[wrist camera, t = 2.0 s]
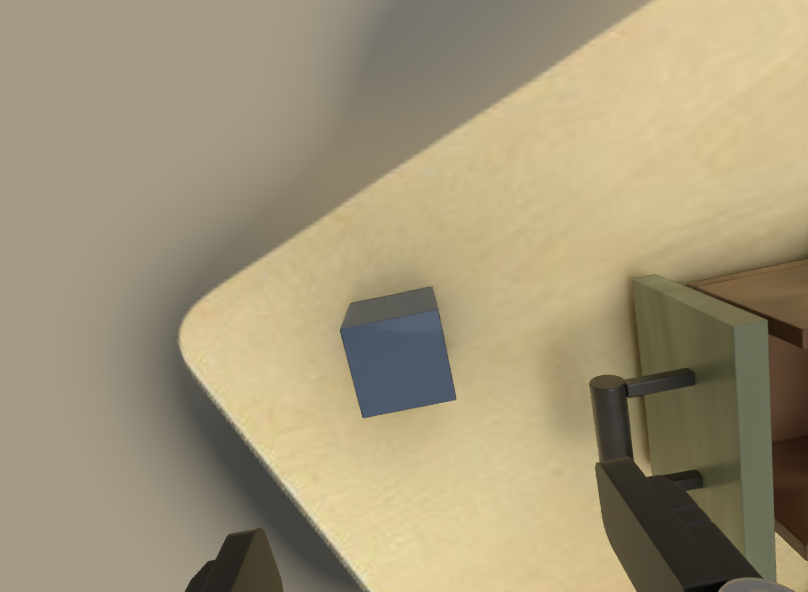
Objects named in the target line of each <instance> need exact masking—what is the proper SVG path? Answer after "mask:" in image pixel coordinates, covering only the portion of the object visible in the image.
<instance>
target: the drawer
mask: <svg viewBox="0 0 808 592" xmlns="http://www.w3.org/2000/svg"><path fill="white" fill-rule="evenodd" d="M632 281H633V291H634V301H635V311H636V321H637V331H638V340H639V350H640V360H641V370H642V376H641V377H636V378H631V379H626V380H623V379H622V378H621V377H618V376H615V375H601V376H597V377H595V378H593V379H591V381H590V383H589V386H590V393H591V401H592V408H593V416H594V424H595V431H596V439H597V447H598V454H599V462H603V461H608V460H613V459H618V458H623V457H630V458H631V459H632V460H633V461H634V458H633V449H632V440H631V431H630V422H629V413H628V404H627V397H628V398H632V397H637V396H642V395H644V400H645V409H646V419H647V429H648V439H649V449H650V459H651V468H652V475H653V476H656V475H662V476H664V477H665V478H667V479H669V480H671V481H672V482H674V483H676V484H678V485H679V486H681V487H683V488H684V490H685V491H686V492H687V493H688V494H689V495H690V496H691V497H692V499H693V500H694V501H695V502H696V503H697V504H698V507H699V508H701V509H702V510H703V511H704V512H705V513H706V514H707V515H708V517H709V518H710V520H711V522H714V523H715V524H716V526H717V527H718V528H719V529H720V530H721V531H722V532H723V533H724V535H725V536H726V537H727V538H728V539H729V540H730V541H731V542H732V544H733V545H734V546H735V547H736V548H737V549H738V550H739V551H740V553H741V554H742V555H743V556H744V557H745V558H746V559H747V560H748V562H749V563H750V564H751V565H752V566H753V567H754V568H755V569H756V571H757V572H758V573H759V574H760V575H761V576H762V577H763V578H764V579H766V580H770V581H773V582H776V558H775V531H776V532H777V533H778V534H779V535H780V536H781V537H782V538H783V539H784V540H785V541H786V542H787V543H788V544H789V545H790V546H791V547H792V548H793V549H794V550H795V551H796V552H797V553H798V554H799V555H800V556H801V557H803V558H804V559H805V560H806V561H808V259H804V260H800V261H795V262H790V263H785V264H780V265H775V266H770V267H765V268H760V269H755V270H750V271H745V272H741V273H736V274H731V275H726V276H721V277H716V278H711V279H706V280H701V281H696V282H691V283H688V284H687V287H686V286H683V285H681V284H678V283H676V282H673V281H671V280H669V279H666V278H664V277H661V276H659V275H656V274H654V275H649V276H644V277H639V278H634V279H632Z"/></svg>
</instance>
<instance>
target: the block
mask: <svg viewBox="0 0 808 592" xmlns="http://www.w3.org/2000/svg"><path fill="white" fill-rule="evenodd" d="M340 333H341V337H342V340H343V344H344V348H345V352H346V356H347V360H348V364H349V368H350V371H351V375H352V379H353V383H354V387H355V391H356V395H357V398H358V402H359V406H360V410H361V414H362V417H363V418H366V417H371V416H377V415H382V414H387V413H392V412H397V411H402V410H407V409H412V408H417V407H422V406H427V405H433V404H438V403H443V402H448V401H453V400H456V394H455V389H454V384H453V379H452V374H451V369H450V365H449V360H448V355H447V350H446V345H445V340H444V335H443V330H442V325H441V321H440V316H439V311H438V307H437V303H436V299H435V295H434V291H433V287H427V288H422V289H417V290H412V291H407V292H403V293H398V294H393V295H388V296H383V297H379V298H374V299H369V300H364V301H359V302H355V303H351V304H350V305H349V308H348V310H347V313H346V315H345V318H344V321H343V323H342V326H341V328H340Z"/></svg>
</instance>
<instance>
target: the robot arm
mask: <svg viewBox="0 0 808 592" xmlns="http://www.w3.org/2000/svg"><path fill="white" fill-rule="evenodd" d="M595 470H596V478H597V484H598V491H599V498H600V505H601V512H602V519H603V523H604V527H605V531H606V534H607V536H608V539H609V542H610V544H611V546H612V548H613V550H614V552H615V554H616V555H617V557H618V559H619V561H620V563H621V564H622V566H623V568H624V570H625V571H626V573H627V575H628V577H629V579H630V580H631V582H632V584H633V586H634V588H635V589H636V591H637V592H795V591H793V590H791V589H789V588H788V587H785V586H783V585H781V584H779V583H776V582H773V581H770V580H766V579H764V578H763V577H762V576H761V575H760V574H759V573H758V572H757V571H756V569H755V568H754V567H753V566H752V565H751V564H750V563H749V562H748V560H747V559H746V558H745V557H744V556H743V555H742V554H741V553H740V551H739V550H738V549H737V548H736V547H735V546H734V545H733V544H732V542H731V541H730V540H729V539H728V538H727V537H726V536H725V535H724V533H723V532H722V531H721V530H720V529H719V528H718V527H717V526H716V524H715V523H714V522H711V520H710V518H709V517H708V515H707V514H706V513H705V512H704V511H703V510H702V509H701V508H699V507H698V504H697V503H696V502H695V501H694V500H693V499H692V497H691V496H690V495H689V494H688V493H687V492H686V491H685V490H684V488H683V487H681V486H679V485H678V484H676V483H674V482H672V481H671V480H669V479H667V478H665V477H664V476H662V475H656V476H650V477H646V476H645V475H644V473H643V472H642V471H641V470H640V468H639V467H638V466H637V465H636V463H635V462H634V461H633V460H632V459H631V458H630V457H623V458H618V459H613V460H608V461H603V462H598V463H596V466H595ZM185 592H283V585H282V580H281V577H280V574H279V571H278V568H277V565H276V562H275V560H274V556H273V554H272V550H271V548H270V545H269V542H268V539H267V536H266V534H265V532H264V530H263V529H262V528H257V529H252V530H246V531H241V532H236V533H232V534H229V535H228V536H227V537H226V539H225V541H224V543H223V545H222V547H221V549H220V552H219V554H218V556H217V558H216V560H212V561H208V562H207V563H206V564H205V565H204V566H203V567H202V568H201V570H200V571H199V572H198V573H197V574H196V575H195V576H194V577H193V578H192V580H191V581H190V583H189V585H188V587H187V588H186V590H185Z"/></svg>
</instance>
